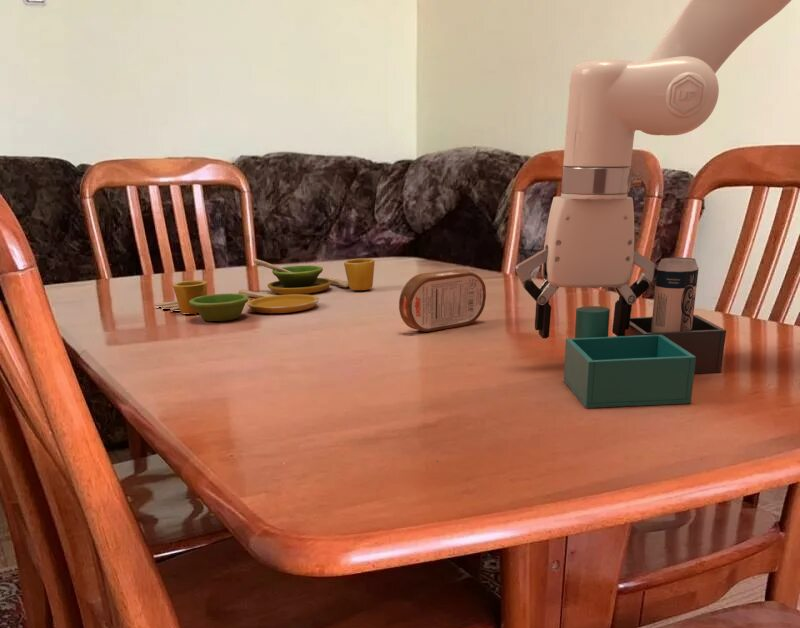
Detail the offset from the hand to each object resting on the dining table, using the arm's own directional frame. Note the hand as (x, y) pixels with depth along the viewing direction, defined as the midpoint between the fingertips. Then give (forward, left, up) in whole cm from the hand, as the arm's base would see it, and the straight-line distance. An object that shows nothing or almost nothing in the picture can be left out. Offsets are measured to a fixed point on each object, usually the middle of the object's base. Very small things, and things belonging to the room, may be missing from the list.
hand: (580, 335), depth 102 cm
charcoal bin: (-11, +1, -4) cm, 11 cm away
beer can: (-11, +1, -3) cm, 11 cm away
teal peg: (-1, 0, -4) cm, 4 cm away
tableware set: (+44, -58, -4) cm, 73 cm away
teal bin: (-2, +12, -4) cm, 13 cm away
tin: (+15, -27, -4) cm, 31 cm away
